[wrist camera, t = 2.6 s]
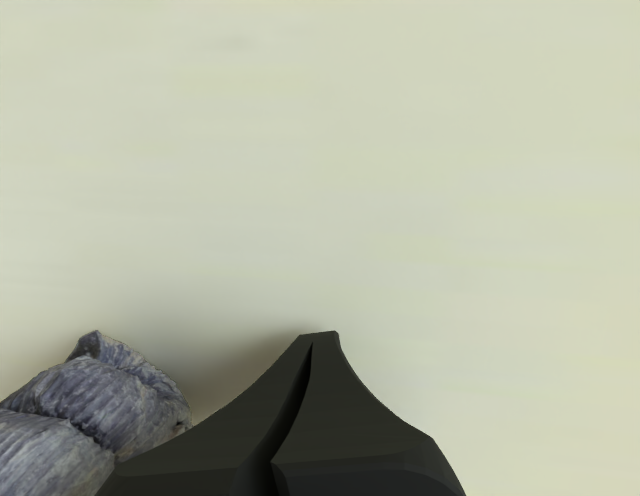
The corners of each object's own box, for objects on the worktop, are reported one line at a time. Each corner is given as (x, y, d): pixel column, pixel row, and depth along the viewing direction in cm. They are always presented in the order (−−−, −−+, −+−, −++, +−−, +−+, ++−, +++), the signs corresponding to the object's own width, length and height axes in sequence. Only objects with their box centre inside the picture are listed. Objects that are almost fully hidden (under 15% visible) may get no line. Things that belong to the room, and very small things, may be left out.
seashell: (76, 370, 14) (-576, 884, 4) (136, 271, 12) (-614, 670, 3) (187, 439, 14) (-149, 1042, 4) (255, 351, 13) (-10, 930, 3)
